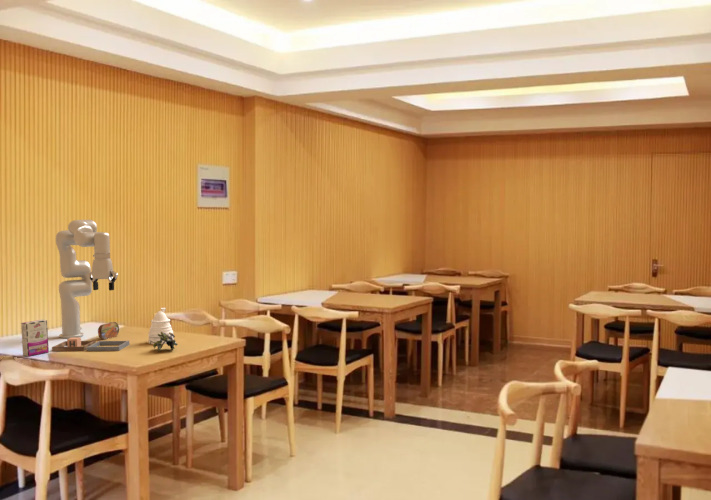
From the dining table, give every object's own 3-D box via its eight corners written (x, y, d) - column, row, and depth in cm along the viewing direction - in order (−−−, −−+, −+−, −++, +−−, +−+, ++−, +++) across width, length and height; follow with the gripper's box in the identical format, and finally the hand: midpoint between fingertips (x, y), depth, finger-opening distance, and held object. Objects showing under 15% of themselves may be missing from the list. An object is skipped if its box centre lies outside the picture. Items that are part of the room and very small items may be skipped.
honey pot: (163, 338, 372) (162, 306, 371) (178, 341, 364) (177, 308, 363) (143, 342, 361) (142, 309, 360) (159, 345, 354) (158, 311, 353)
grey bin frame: (98, 344, 357) (98, 341, 356) (129, 344, 357) (129, 340, 357) (87, 351, 341) (87, 347, 341) (119, 350, 341) (118, 346, 341)
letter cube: (71, 347, 352) (71, 337, 352) (81, 346, 352) (80, 337, 352) (67, 349, 347) (67, 339, 347) (77, 348, 347) (76, 339, 347)
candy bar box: (43, 351, 341) (41, 319, 340) (49, 352, 338) (47, 320, 337) (21, 355, 331) (20, 322, 330) (28, 356, 328) (26, 323, 327)
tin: (101, 340, 369) (101, 325, 368) (97, 340, 370) (96, 325, 369) (119, 335, 383) (119, 320, 383) (115, 335, 384) (114, 320, 384)
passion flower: (171, 360, 343) (183, 342, 340) (154, 360, 334) (166, 341, 331) (161, 345, 349) (172, 327, 346) (144, 345, 340) (155, 326, 337)
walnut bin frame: (65, 344, 357) (65, 341, 357) (95, 344, 358) (95, 340, 357) (52, 351, 341) (51, 347, 341) (83, 350, 342) (83, 346, 342)
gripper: (83, 257, 345) (84, 290, 346) (111, 257, 339) (113, 291, 340) (93, 256, 352) (94, 289, 353) (121, 256, 347) (122, 289, 347)
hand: (103, 290), depth 347 cm, fingers open, 9 cm apart
